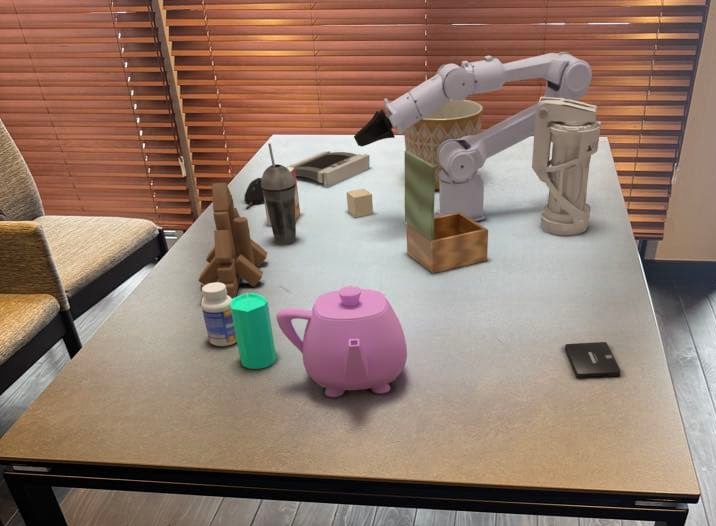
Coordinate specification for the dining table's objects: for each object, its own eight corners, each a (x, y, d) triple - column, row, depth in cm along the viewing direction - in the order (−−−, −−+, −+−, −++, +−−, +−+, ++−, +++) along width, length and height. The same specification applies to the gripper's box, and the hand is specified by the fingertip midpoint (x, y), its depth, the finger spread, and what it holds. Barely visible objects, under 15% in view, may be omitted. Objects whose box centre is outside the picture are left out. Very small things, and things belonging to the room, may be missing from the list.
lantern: (589, 219, 176) (604, 94, 160) (586, 237, 169) (602, 107, 152) (531, 216, 179) (540, 93, 162) (526, 234, 171) (534, 106, 155)
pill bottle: (235, 347, 137) (224, 294, 131) (205, 346, 138) (193, 293, 131) (243, 332, 141) (234, 280, 135) (214, 332, 142) (203, 279, 135)
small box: (290, 227, 179) (284, 178, 172) (267, 226, 180) (260, 177, 173) (301, 214, 185) (295, 166, 178) (278, 213, 186) (272, 165, 179)
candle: (242, 352, 136) (229, 285, 128) (277, 350, 136) (266, 283, 128) (239, 370, 131) (226, 302, 123) (275, 367, 132) (264, 299, 124)
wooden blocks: (213, 253, 169) (196, 165, 157) (271, 250, 169) (258, 162, 157) (194, 305, 150) (173, 209, 138) (259, 302, 150) (243, 206, 139)
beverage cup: (308, 236, 174) (297, 138, 161) (291, 249, 169) (278, 148, 156) (280, 232, 177) (266, 135, 163) (262, 244, 172) (247, 145, 159)
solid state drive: (605, 345, 133) (606, 341, 133) (620, 375, 126) (621, 371, 125) (564, 347, 133) (565, 343, 133) (576, 377, 126) (577, 374, 125)
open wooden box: (459, 241, 169) (460, 211, 165) (487, 260, 161) (488, 229, 157) (406, 253, 165) (405, 223, 161) (432, 273, 158) (432, 242, 153)
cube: (365, 208, 187) (364, 188, 184) (373, 214, 183) (372, 194, 180) (347, 211, 185) (346, 191, 182) (355, 217, 182) (354, 197, 179)
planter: (466, 165, 208) (467, 94, 197) (491, 187, 194) (494, 113, 183) (395, 173, 205) (392, 103, 194) (416, 197, 191) (414, 122, 180)
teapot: (284, 424, 119) (269, 332, 109) (287, 358, 134) (275, 272, 124) (414, 414, 120) (411, 322, 109) (403, 350, 134) (400, 264, 124)
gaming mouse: (234, 208, 189) (232, 191, 187) (259, 187, 200) (256, 171, 197) (259, 209, 188) (256, 192, 185) (282, 189, 199) (280, 172, 196)
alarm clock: (327, 173, 196) (278, 157, 203) (327, 192, 199) (279, 176, 206) (369, 154, 206) (321, 140, 213) (369, 173, 210) (322, 158, 216)
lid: (407, 150, 152) (404, 151, 152) (435, 166, 144) (432, 167, 144) (407, 221, 161) (404, 221, 161) (433, 240, 153) (430, 240, 153)
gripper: (401, 87, 167) (345, 122, 168) (409, 84, 154) (349, 122, 156) (416, 121, 170) (362, 154, 172) (426, 120, 157) (366, 157, 159)
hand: (357, 141), depth 164 cm, fingers open, 7 cm apart
